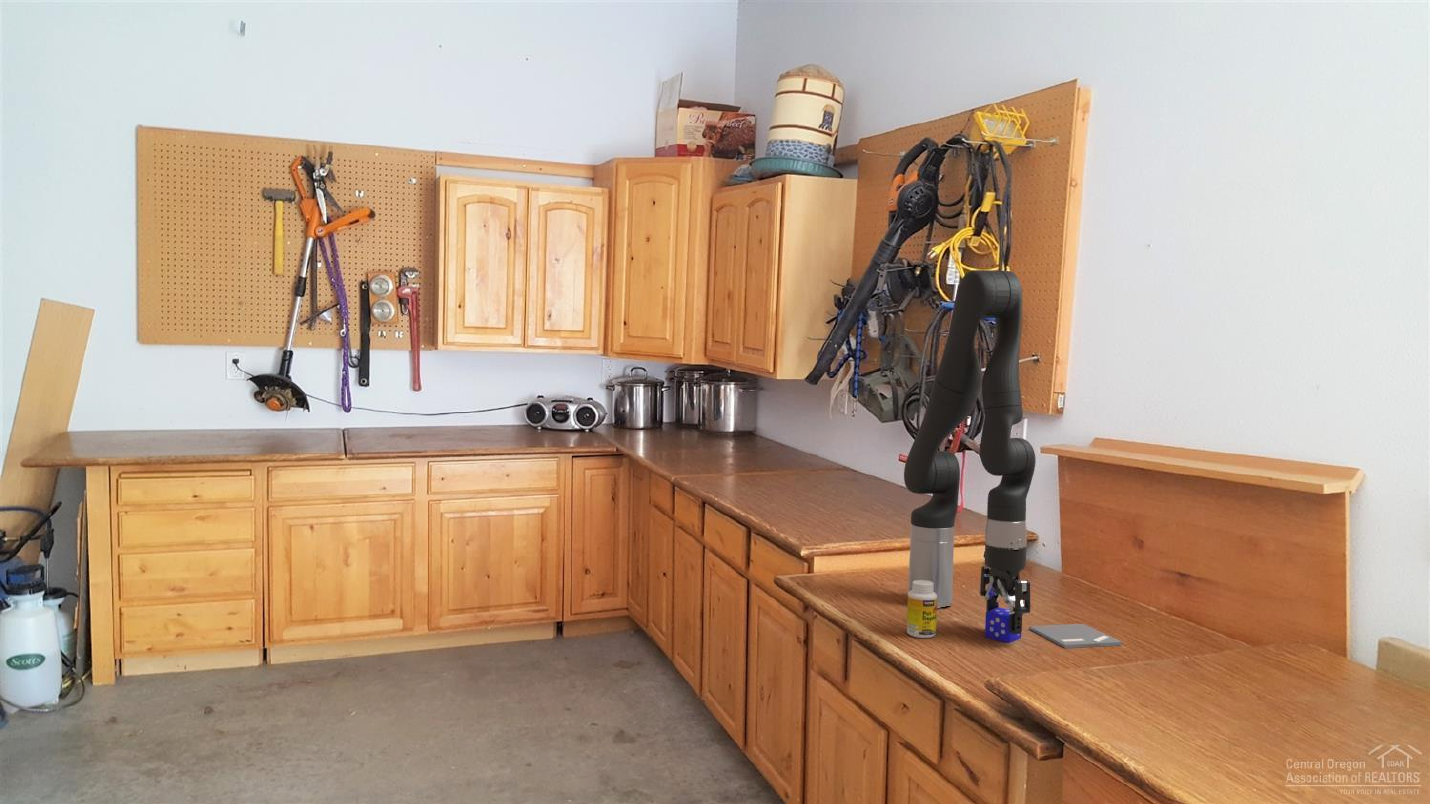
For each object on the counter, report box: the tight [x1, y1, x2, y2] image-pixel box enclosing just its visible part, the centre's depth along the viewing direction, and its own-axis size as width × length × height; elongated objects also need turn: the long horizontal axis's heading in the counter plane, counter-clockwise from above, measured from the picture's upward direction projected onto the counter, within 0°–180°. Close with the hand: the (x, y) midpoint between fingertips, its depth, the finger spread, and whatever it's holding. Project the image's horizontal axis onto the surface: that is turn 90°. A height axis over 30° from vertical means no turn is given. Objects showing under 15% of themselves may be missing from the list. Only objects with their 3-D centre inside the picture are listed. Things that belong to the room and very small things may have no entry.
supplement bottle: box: [906, 580, 938, 639], centre depth 174 cm, size 6×6×10 cm
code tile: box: [1028, 623, 1123, 649], centre depth 174 cm, size 12×12×1 cm
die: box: [984, 606, 1022, 644], centre depth 173 cm, size 5×5×5 cm
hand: (1003, 627), depth 173 cm, fingers open, 8 cm apart
